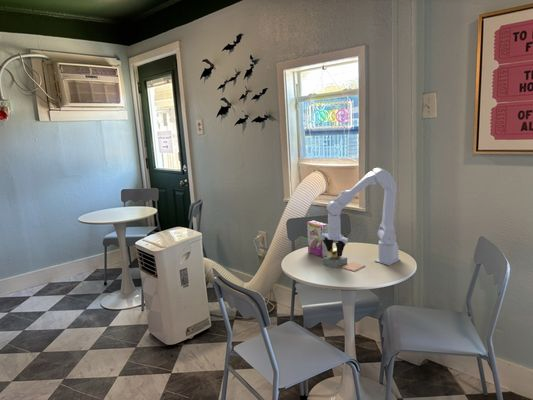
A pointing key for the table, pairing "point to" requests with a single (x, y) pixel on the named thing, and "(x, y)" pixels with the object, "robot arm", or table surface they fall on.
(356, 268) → the terracotta pad
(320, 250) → the candy bar box
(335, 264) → the slate socket block
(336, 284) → the table surface
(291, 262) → the table surface
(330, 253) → the brass rectangular peg
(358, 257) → the table surface
